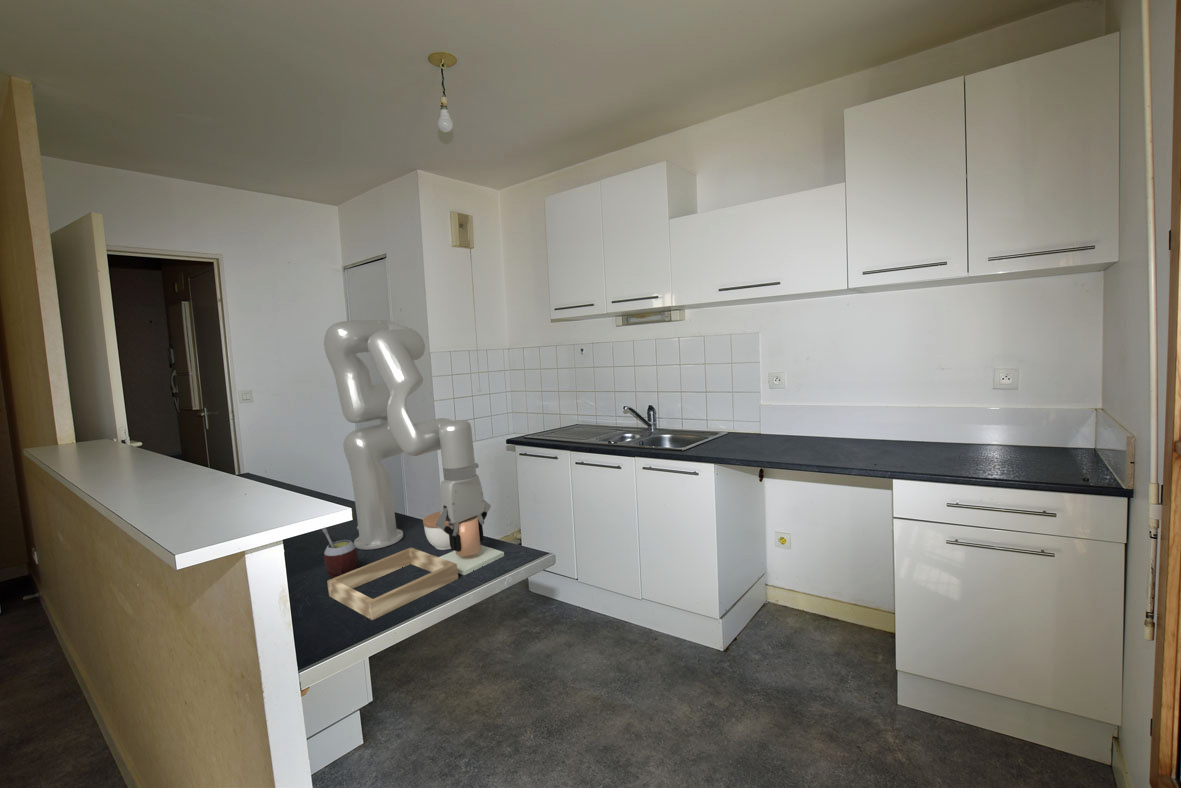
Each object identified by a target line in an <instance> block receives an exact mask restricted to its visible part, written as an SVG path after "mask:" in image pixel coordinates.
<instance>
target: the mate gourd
mask: <svg viewBox="0 0 1181 788" xmlns="http://www.w3.org/2000/svg"><path fill="white" fill-rule="evenodd" d="M322 533H324V534H325V537H326V539H327V541H328V542H329V544H328V545H327V546H326V548H325V550H324V554H323V562H324V566H325V570H326V572H327V575H328V576H329V577H328V580H330V579H333V578H335V577H338V576H340V575H343V574H345V573H348V572H350V571H353V570H355V569H358V565H359V558H358V557H359V556H358V550H357V549H358V548H356V547H355V544H354V542H353V541H351V540H349V539H341V540H337V541H332V539H331V537H330V535H329V531H328V529H327V528H325V527H324V528H323V529H322Z"/></svg>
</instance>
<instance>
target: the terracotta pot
mask: <svg viewBox="0 0 1181 788" xmlns="http://www.w3.org/2000/svg"><path fill="white" fill-rule="evenodd" d="M453 525H454V524H453ZM457 534H458V535H460V542H461V551H459V552H458V551H456V555H458V556H470V555H474V554H476V553H478V552H480V551H481V545H482V544H481V542H480V534H479V525H478V517H476V516H475V517H473V518H470V519H468V520H465V521H463V522H460V523H459V528H458V532H457Z"/></svg>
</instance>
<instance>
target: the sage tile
mask: <svg viewBox="0 0 1181 788" xmlns="http://www.w3.org/2000/svg"><path fill="white" fill-rule="evenodd" d="M438 557H439V558H442V559H445V560H447V561H450V562H453V563H456V564H457V571H458V575H459V574H460V575H462V576H466V575H467V574H470V573H472V572H474V571H476V570H478V569H480V568H483V567H485V566H487V565H489V564H491V563H493V562H495V561H497V560H499V559H501V558H503V557H505V552H504V551H501V550H498V549H495V548H492V547H488V546H486V545H482V544H481V551H480V552H478V553H476V554H474V555H470V556H458V555H456V551H455V550H451V551H450V552H448V553H446V554H443V555H441V556H438ZM482 566H483V567H482ZM473 570H474V571H473Z"/></svg>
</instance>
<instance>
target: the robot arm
mask: <svg viewBox="0 0 1181 788" xmlns="http://www.w3.org/2000/svg"><path fill="white" fill-rule="evenodd" d="M323 346H324V351H325V355H326V359H327V361H328V364H329V365H330V367H331V369H332V372H333V376H334V378H335V384H336V389H337V394H338V398H339V402H340V407H341V411H342V414H343V416H344V418H345V420H346V421H347V422H348V423H350V424H361V423H367V422H373V421H378V420H379V422H380V423H379V424H374V425H369V426H365V427H361V428H357V429H355V430H352V431H351V432H350V433H348V434H346V437H345V438H344V440H343V452H344V454H345V457H346V460H347V463H348V467H349V471H350V476H351V482H352V488H353V495H354V496H353V498H354V504H355V512H356V518H357V526H356V530H358V537H357V538H355V539H354V542H353V543H354V544H355V547H356V549H358V550H367V551H368V550H376V549H381V548H386V547H388V546H391V545H394V544H396V543H398V542H400V541H401V540H402V539H403V537H404V531H403V530H402V529H399V528H397V523H396V522H397V521H396V515H395V514H396V513H395V505H394V497H393V496H394V495H393V490H392V482H391V476H390V473H389V470H388V469H387V468H386V467H385V465H384V464H383V463H382V462H381V460H384V459H388V458H392V457H394V456H397V455H401V454H403V453H405V454H406V455H407V456H408V455H409V456H411V457H412V456H413V457H417V456H422V455H425V454H428V453H432V452H436V451H440V454H441V464H442V474H443V480H442V481H441V482H440V487H439V512H440V514H441V515H440V517H439V519H438V521H437V522H436V526H437V527H438V528H440V529H442V530H443V531H444V532H446V533H447V534H449V541H450V547H451V549H450V550H451V551H458V552H459V551H461V542H460V535H458V534H457V532H458V528H459V523H460V522H463V521H465V520H468V519H470V518H473V517H475V516H476V517H478V525H479V534H480V543H481V542H484V540H485V539H484V528H483V525H484V524H485V520H486V517H487V516H488V513H489V511H490V509H491V507H492V505H491V504H490V502H488V501H486V500H485V498H484V493H483V487H482V484H481V480H480V477H479V475H478V474H477V469H478V468H479V464H478V462H476V460H475V449H474V440H473V432H472V431H473V430H472V425H471V423H470V421H468V420H464V419H463V420H462V419H461V420H460V419H458V420H454V419H453V420H452V419H449V418H444V417H441V418H439V417H438V418H434V419H433V418H432V419H430V420H424V421H420V422H416V423H414V422H413V420H412V418H411V416H410V414H409V412H408V408H407V399H408V397H409V396H411V395H412V394H413V393H414V392H417V390H418V389H419V388H420V387H422V385H423V382H424V378H423V376H422V374H421V372H420V370H419V368H418V367H417V365H416V363H415V361H417V360H418V361H419V360H420V359H421V358H422V357H423V356H424V354H425V352H426V350H425V349H426V345H425V341H424V338H423V337H422V335H421V334H420V333H419V332H418V331H416V329H413V328H411V327H408V326H405V325H403V324H399V323H397V322H394V321H390V320H386V319H385V320H384V319H372V320H371V319H370V320H369V319H368V320H367V319H366V320H363V319H361V320H360V319H359V320H358V319H356V320H353V319H352V320H344V321H339V322H335V323H333V324H332V325H330V326H329V327H328V329H327V330H326V331H325V335H324V339H323ZM361 353H363V354H364V353H369V355H370V357H371V358H372V361H373V362H374V364H375V366H376V369H377V370H378V371H379V374H380V376H381V377H382V379H383V381H384V383H380V384H373V382H372V379H371V375H370V370H369V368H368V366H367V365H366V363H365V362H364V361H363V360H362V359H361V358H360V357H359V356H358V355H357V354H361ZM445 521H448V525H445ZM453 524H454V525H453ZM452 528H453V529H452Z"/></svg>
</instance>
